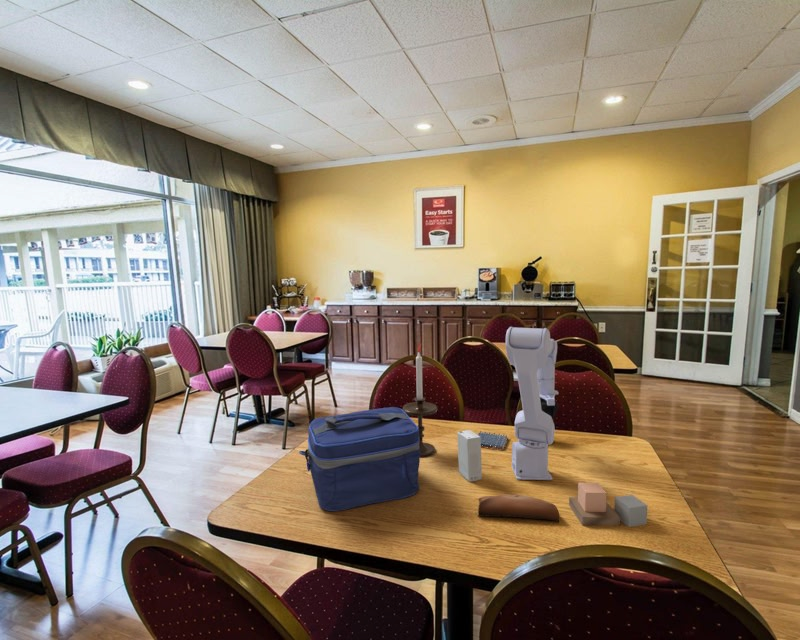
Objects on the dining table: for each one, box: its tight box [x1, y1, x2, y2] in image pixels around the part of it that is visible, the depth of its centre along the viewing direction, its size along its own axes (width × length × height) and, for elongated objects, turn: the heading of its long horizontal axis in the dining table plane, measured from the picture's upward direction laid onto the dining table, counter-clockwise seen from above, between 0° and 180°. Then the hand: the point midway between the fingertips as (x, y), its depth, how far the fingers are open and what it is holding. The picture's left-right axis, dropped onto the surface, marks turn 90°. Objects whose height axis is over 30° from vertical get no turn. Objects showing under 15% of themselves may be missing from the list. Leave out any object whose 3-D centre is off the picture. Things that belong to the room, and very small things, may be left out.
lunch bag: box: [298, 406, 421, 512], centre depth 108 cm, size 31×21×20 cm
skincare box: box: [457, 429, 483, 483], centre depth 112 cm, size 6×4×12 cm
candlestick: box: [402, 343, 438, 458], centre depth 128 cm, size 11×11×35 cm
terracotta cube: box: [577, 482, 607, 512], centre depth 93 cm, size 4×4×4 cm
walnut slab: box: [568, 496, 621, 527], centre depth 93 cm, size 8×8×2 cm
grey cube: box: [613, 494, 648, 528], centre depth 91 cm, size 4×4×4 cm
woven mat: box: [477, 430, 509, 451], centre depth 135 cm, size 10×11×2 cm
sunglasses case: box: [477, 494, 560, 522], centre depth 96 cm, size 18×7×7 cm, turn 81°
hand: (544, 420), depth 125 cm, fingers open, 7 cm apart
